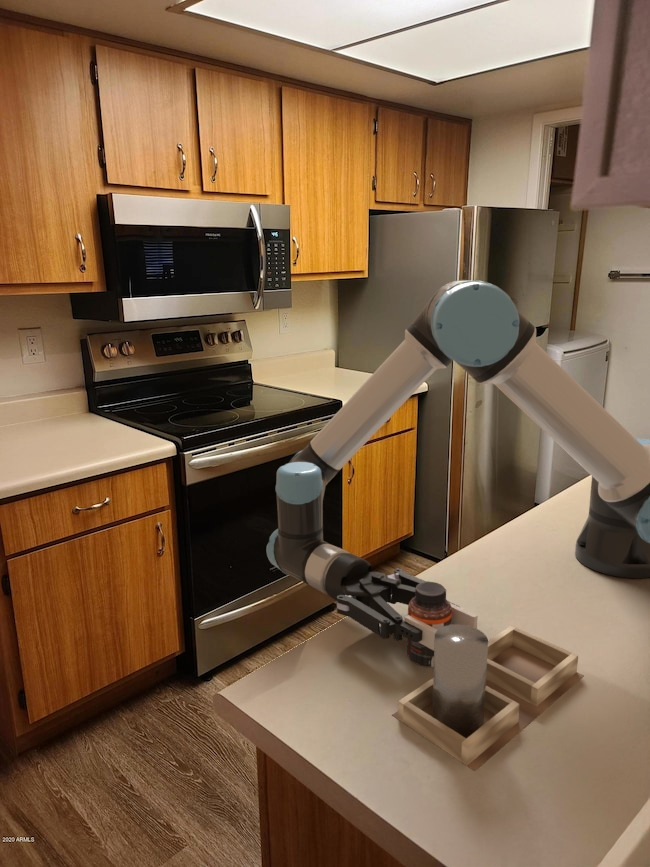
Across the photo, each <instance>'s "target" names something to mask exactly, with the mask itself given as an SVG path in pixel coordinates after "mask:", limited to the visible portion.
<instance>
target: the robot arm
mask: <svg viewBox="0 0 650 867" xmlns="http://www.w3.org/2000/svg"><path fill="white" fill-rule="evenodd" d="M453 361H454V362H455V363H456V364H457V365H458V366H460V367H461V369H463V371H465V372H466V373H467V374H468V375H469V376H470V377H471V378H472V379H473V380H474V381H476V382H477V383H478V385H489V384H490V385H494V386H496V388H498V389H499V390H500V391H501V392H502V394H504V395H505V396H506V397H507V398H508V399H509V400H510V401H512V402H513V404H515V406H517V407H518V408H519V409H520V410H521V411H522V412H523V413H524V414H525V415H527V416H528V418H530V419H531V421H533V422H534V423H535V424H536V425H537V426H538V427H539V428H540V429H541V430H542V431H543V432H545V433H546V435H548V436H549V437H550V438H551V440H553V441H554V442H555V443H556V444H557V445H558V446H559V447H560V448H562V449H563V450H564V452H566V453H567V454H568V455H569V456H570V457H571V458H572V459H573V460H574V461H575V462H576V463H577V464H578V465H580V466H581V468H583V469H584V470H585V471H586V472H587V473H588V474H589V475H590V476H591V484H590V497H589V508H588V516H587V519H586V521H585V522H584V525H583V526H582V528H581V531H580V533H579V534H578V536H577V539H576V543H575V550H574V555H575V557H576V559H577V560H578V562H580V563H581V564H582V565H584V566H586V567H587V568H589V569H591V570H594V571H596V572H599V573H602V574H605V575H607V576H613V577H619V578H626V579H627V578H628V579H646V578H650V439H648V438H636V437H635V436H633V435H632V434H631V433H630V431H628V430H627V429H626V428H625V427H624V426H623V425H622V424H620V422H619V421H618V420H617V419H615V418H614V417H613V416H612V414H610V413H609V411H607V410H606V409H605V408H604V407H603V406H602V405H601V404H600V403H599V401H597V400H596V399H595V398H594V397H593V396H592V395H591V394H590V393H589V392H588V391H587V390H585V388H583V386H582V385H580V384H579V383H578V382H577V380H575V379H574V378H573V377H572V376H571V375H570V374H569V373H567V371H566V370H565V369H563V367H562V366H560V364H558V362H557V361H555V360H554V359H553V358H552V356H550V355H549V354H548V353H547V352H546V351H545V350H544V349H543V348H542V347H541V346H540V345H539V344H538V343H537V328H536V326H535V325H533V324H532V323H531V322H530V320H528V318H526V317H525V316H524V315H523V313H521V312H520V311H519V310H518V309H517V307H516V304H515V303H514V302H513V300H512V298H511V297H510V295H509V294H508V293H507V292H505V291H504V290H503V289H502V288H500V287H499V286H497V285H495V284H492V283H489V282H487V281H482V280H470V279H469V280H468V279H460V280H459V279H458V280H454V281H450V282H448V283H446V284H444V285H443V286H441V287H440V288H439V289H437V290H436V292H435V293H434V294H433V295H432V296H431V298H430V299H429V300H428V301H427V303H426V304H425V306H424V307H423V309H422V310H421V311H420V313H418V315H417V316H416V317H415V319H414V320H413V321H412V322H411V323H410V325H409V326H408V327H406V328H405V330H404V339H403V341H401V343H400V344H399V345H398V346H397V348H396V349H394V350H393V352H392V353H390V355H389V356H388V357H387V358H386V359H385V360H384V361H383V363H381V365H379V367H378V368H377V369H376V370H375V371H374V372H373V373H372V374H371V376H370V377H368V379H367V380H366V381H365V382H364V383H363V384H362V385H361V386H360V387H359V389H358V390H356V392H354V394H352V396H351V397H350V398H349V399H348V400H347V401H346V402H345V404H344V405H342V407H341V408H340V409H339V410H338V411H337V412H336V413H335V414H334V416H332V417H331V419H330V420H328V422H327V423H325V425H324V426H323V427H322V428H321V430H320V431H319V432H318V433H316V435H314V437H313V438H312V439H311V440H310V442H309V443H308V444H307V445H306V446H305V447H304V448H303V449H302V450H300V451H298V452H297V453H296V454H294V456H293V457H292V458H291V459H290V461H289V462H288V463H285V464H284V465H281V466H279V468H278V469H277V471H276V482H275V483H276V484H275V493H276V505H277V509H276V510H277V529H275V530H274V531H273V532H272V533H271V535H270V536H269V539H268V543H267V545H266V550H265V551H266V556H267V558H268V561H269V562H270V564H271V565H273V566H274V567H276V568H277V569H278V570H280V571H281V572H282V573H283V574H285V575H286V576H290V577H293V578H295V579H296V580H299V581H301V582H303V583H305V584H306V585H308V586H310V587H312V588H314V589H316V590H317V591H319V592H321V593H323V594H324V595H326V596H329V598H331V599H332V600H335V601H336V613H337V614H339V615H342V616H344V617H348V618H350V619H351V620H353V621H355V623H356V622H357V623H358V624H359V625H361V626H362V627H364V628H366V629H367V630H368V631H371V632H372V633H374V634H375V635H377V636H378V637H381V638H382V639H383V640H387V639H390V637H391V635H393V640H395V641H402V640H403V637H404V638H406V639H407V638H408V639H410V640H411V641H413V642H417V643H418V642H419V643H421V644H422V645H424V646H426V647H428V648H430V649H432V650H434V640H435V633H436V631H437V629H435V628H433V627H431V626H429V625H427V624H425V623H423V622H421V621H419V620H417V619H415V618H413V617H411V616H409V615H408V614H407V615H405V616H404V619H403V616H402V615H401V614H400V613H399V612H398V611H397V610H395V608H393V607H392V606H391V605H390V604H392V605H395V604H397V603H399V604H403V605H406V606H408V605H409V602H410V601H411V599H412V598H414V597H415V591H416V586H417V585H418V584H420V583H423V582H428V581H427V580H424V579H422V578H419V577H417V576H414V575H412V574H409V573H407V572H406V571H404V570H403V569H402V568H397V567H396V568H394V570H393V573H392V574H386V573H384V572H379V571H376V570H375V569H374V568H373V567H372V565H371V563H370V562H369V561H368V560H366V559H364V558H362V557H359V556H357V555H355V554H353V553H350V552H349V551H347V550H345V549H343V548H341V547H338V546H335V545H333V544H331V543H329V542H327V541H324V523H323V521H324V520H323V519H324V518H323V516H324V514H323V513H324V510H323V506H324V505H323V504H324V503H323V501H324V497H325V491H326V486H327V485H328V484H329V482H331V480H332V479H333V478H335V476H336V475H338V473H339V472H340V471H341V469H342V468H343V467H345V465H346V464H347V463H348V462H349V461H350V460H351V459H352V458H353V457H354V456H355V455H356V454H357V452H359V450H361V448H362V447H364V445H366V444H367V442H368V441H369V440H370V439H371V438H373V436H374V435H375V434H376V433H377V432H378V431H379V430H381V428H382V427H383V425H385V423H387V422H388V421H389V420H390V419H391V417H392V416H393V415H394V414H395V413H396V412H397V411H398V410H399V409H400V408H401V407H402V406H404V404H405V403H406V401H407V400H409V399H410V398H411V396H413V394H414V393H415V392H416V391H417V390H419V388H420V387H421V386H423V385H424V383H425V382H426V381H427V380H428V379H429V378H430V377H431V376H432V375H433V373H434V372H436V371H437V370H439V369H447V367H448V366H449V365H450V364H452V362H453ZM445 599H446V600H447V589H446V588H445ZM447 601H448V602H449V603H450V604H451V608H452V621H451V625H454V624H460V625H467V626H471V627H474V628H476V629H478V617H479V616H478V615H477V614H475V613H473V612H471V611H468V610H466V609H465V608H462V607H461V606H460V605H458V604H455V603H453V602H451V601H449V600H447Z"/></svg>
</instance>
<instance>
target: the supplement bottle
mask: <svg viewBox="0 0 650 867" xmlns="http://www.w3.org/2000/svg"><path fill="white" fill-rule="evenodd" d="M445 589H446V588H445V587H444V586H443V585H442V584H440V583H439V582H434V581H427V582H423V583H420V584H418V585H417V586H416V591H415V597H414V598H412V599H411V601H410V602H409V605H407V615H409V616H411V617H413V618H415V619H417V620H419V621H421V622H423V623H425V624H427V625H429V626H431V627H433V628H435V629H437V630H438V629H440V628H442V627H444V626H447V625H451V621H452V608H451V604H450V603H449V602H450V601H449V600H447V598H446V599H445ZM448 601H449V602H448ZM406 640H407V645H406V646H407V648H406V653H407V657H408V658H409V660H410V661H412V663H414V664H416V665H418V666H422V667H426V668H428V667H429V668H434V650H432V649H430V648H428V647H426V646H424V645H422V644H421V643H419V642H418V643H417V642H413V641H411V640H410V639H408V638H406Z"/></svg>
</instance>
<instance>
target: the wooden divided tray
mask: <svg viewBox="0 0 650 867" xmlns="http://www.w3.org/2000/svg"><path fill="white" fill-rule="evenodd" d="M578 662H579V655H578V654H576V653H574V652H571V651H569V650H567V649H566V648H564V647H560V646H558V645H556V644H554V643H551V642H550V641H547V640H545V639H543V638H541V637H538V636H537V635H534V634H532V633H530V632H527V631H525V630H523V629H521V628H519V627H516V626H515V625H510V626H508V627H507V628H505V629H504V630H502V631H500V632H499V633H498V634H496V635H495V636H493V637H491V638H490V639H488V654H487V673H486V692H485V711H484V725H483V726H482V727H480V728H479V729H478V730H477V731H475V732H474V733H473V734H472V735H470V736H469V737H468V738H465V737H463V736H461V735H460V734H458V733H457V732H455V731H454V730H452V729H450V728H449V727H447V726H446V725H444V724H443V723H441V722H439V721H438V720H436V719H435V718H433V717H432V710H433V677H432V678H431V679H429V680H427V681H426V682H425V683H423V684H422V685H420V686H419V687H417V688H416V689H414V690H413V691H412V692H410V693H408V694H406V695H405V696H404V697H402V698H401V699H400V700H398V702H397V703H398V704H397V705H398V707H397V711H395V712H394V713H392V715H391V716H392V717H394V718H395V719H396V720H399V721H400V722H401V723H403V724H404V725H406V726H407V727H409V728H410V729H412V730H413V731H415V733H417V734H419V735H420V736H422V737H423V738H425V739H426V740H428V741H429V742H430V743H432V744H434V745H436V747H437V748H440V749H441V750H442V751H444V752H445V753H447V754H448V755H450V756H452V758H455V759H456V760H458V761H459V763H462V764H464V765H465V766H466V767H468V768H469V769H470V770H472V771H473V772H476V771H477V770H478V769H480V767H482V766H483V765H484V764H486V762H488V760H489V759H491V758H492V757H493V756H494V755H495V754H496V753H498V752H499V751H500V750H501V749H502V748H503V747H505V746H506V745H507V744H508V743H510V741H511V740H512V739H514V738H515V737H516V736H517V735H518V734H519V733H521V732H522V731H523V730H524V729H525V728H526V727H527V726H529V725H530V724H531V723H533V721H534V720H535V719H537V718H538V717H539V716H540V715H541V714H543V712H544V711H546V710H547V709H548V708H549V707H550V706H551V705H553V703H555V702H556V701H557V700H558V699H559V698H561V696H563V695H564V694H565V693H566V692H567V691H569V690H570V689H571V688H572V687H573V686H574V685H575V684H577V683H578V682H579V681H580V680H581V679H582V678H583V677H584V676H585V675H584V674H581V673H580V672H577V671H578V664H579V663H578Z"/></svg>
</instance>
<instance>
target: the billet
mask: <svg viewBox="0 0 650 867" xmlns="http://www.w3.org/2000/svg"><path fill="white" fill-rule="evenodd" d="M488 641H489V639H488V637H487V635H486V634H485V633H484V632H483V631H481V630H480V629H478V628H477V629H476V628H474V627H471V626H467V625H460V624H454V625H447V626H444V627H442V628H440V629H438V630H437V631H436V633H435V640H434V667H433V677H432V678H433V710H432V717H433V718H435V719H436V720H438V721H439V722H441V723H443V724H444V725H446V726H447V727H449V728H450V729H452V730H454V731H455V732H457V733H458V734H460V735H461V736H463V737H465V738H468V737H469V736H470V735H472V734H473V733H474V732H475V731H477V730H478V729H479V728H480V727H482V726H483V725H484V711H485V692H486V673H487V654H488Z"/></svg>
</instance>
